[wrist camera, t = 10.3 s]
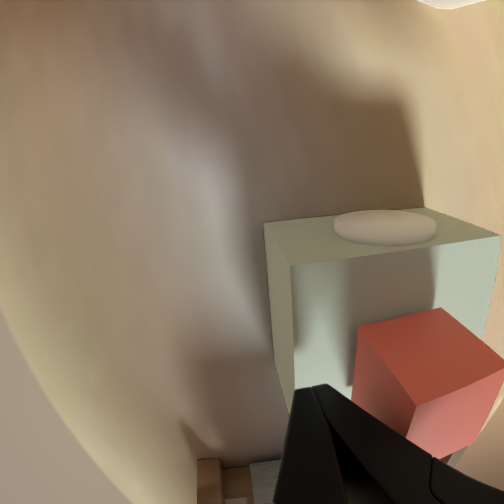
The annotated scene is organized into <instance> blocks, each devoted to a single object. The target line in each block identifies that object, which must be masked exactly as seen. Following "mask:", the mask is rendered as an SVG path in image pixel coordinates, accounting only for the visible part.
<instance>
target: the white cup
mask: <svg viewBox="0 0 504 504" xmlns="http://www.w3.org/2000/svg"><path fill="white" fill-rule="evenodd" d="M418 1H419V2H422V3H424V4H427V5H429V6H432V7H434V8H437V9H456V8H459V7H463V6H466V5H470V4H474V3H477V2H481V1H485V0H418Z"/></svg>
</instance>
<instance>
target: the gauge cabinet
mask: <svg viewBox="0 0 504 504" xmlns="http://www.w3.org/2000/svg"><path fill="white" fill-rule="evenodd" d="M263 228H264V239H265V251H266V263H267V275H268V287H269V299H270V312H271V325H272V338H273V351H274V362H275V366H276V370H277V373H278V377H279V381H280V385H281V388H282V392H283V396H284V399H285V403H286V406H287V410H288V414H289V416H290V411H291V405H292V399H293V394H294V390H295V389H299V388H304V387H312V386H315V385H320V384H325V383H326V384H329V385H330V386H332V387H333V388H334V389H336V390H337V391H339V392H340V393H341V394H343V395H344V396H345V397H347V398H348V399H350V400H351V395H352V387H353V378H354V368H355V358H356V347H357V335H358V326H362V325H367V324H372V323H377V322H381V321H386V320H390V319H395V318H399V317H403V316H408V315H412V314H416V313H420V312H424V311H428V310H432V309H436V308H440V307H441V308H443V309H444V310H445V311H446V312H448V313H449V314H450V315H451V316H453V317H454V318H455V319H456V320H458V321H459V322H460V323H461V324H462V325H464V326H465V327H466V328H467V329H468V330H470V331H471V332H472V333H473V334H474V335H476V336H477V337H478V338H479V339H480V340H481V339H482V335H483V331H484V328H485V324H486V320H487V315H488V311H489V307H490V302H491V297H492V292H493V287H494V282H495V276H496V270H497V264H498V257H499V250H500V241H501V235H499V234H496V233H494V232H491V231H489V230H486V229H484V228H481V227H478V226H476V225H473V224H471V223H468V222H465V221H462V220H460V219H457V218H454V217H452V216H449V215H446V214H443V213H440V212H437V211H434V210H432V209H429V208H426V207H424V208H411V209H399V210H364V211H356V212H350V213H346V214H342V215H332V216H322V217H312V218H303V219H293V220H284V221H274V222H265V223H263Z"/></svg>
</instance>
